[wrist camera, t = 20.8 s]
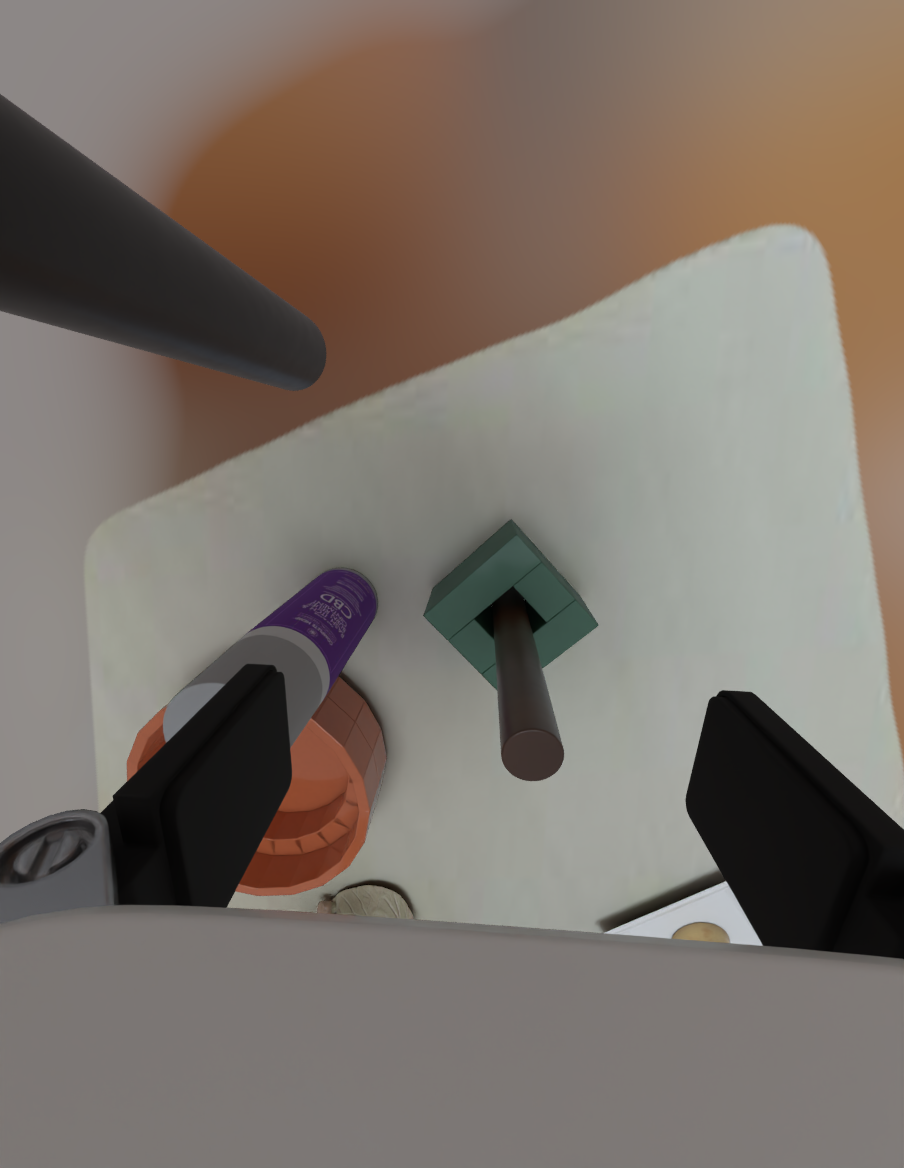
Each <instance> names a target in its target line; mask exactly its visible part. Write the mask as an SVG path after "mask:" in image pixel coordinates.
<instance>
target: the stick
mask: <svg viewBox="0 0 904 1168" xmlns="http://www.w3.org/2000/svg"><path fill="white" fill-rule="evenodd" d="M492 610H493V626H494V643H495V659H496V676H497V692H498V709H499V725H500V742H501V757H502V761H503V764H504V766H505V767H506V769H507V770H508V771H509V772H510V773H511V774H512V775H514V776H515V777H517V778H519V779H522V780H526V781H539V780H543V779H546V778H548V777H550V776H552V775H553V774H555V773H556V772H557V771H558V769H559V768H560V767H561V765H562V762H563V759H564V749H563V745H562V742H561V738H560V734H559V730H558V727H557V723H556V719H555V715H554V711H553V708H552V704H551V700H550V696H549V693H548V689H547V685H546V681H545V678H544V674H543V670H542V666H541V663H540V659H539V655H538V651H537V647H536V644H535V640H534V636H533V632H532V629H531V625H530V621H529V617H528V614H527V610H526V606H525V602H524V598H523V596H522V595H521V594H520V593H519V592H518V591H517V590H516V589H515V588H514V587H513V586H512V587H511V588H510V589H509V590H507V591H506V592H505V593H504V594H503V595H501V596H500V597H499V598H498V599H497V600H495V601H494V602H493V603H492Z"/></svg>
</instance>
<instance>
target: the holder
mask: <svg viewBox="0 0 904 1168" xmlns="http://www.w3.org/2000/svg"><path fill="white" fill-rule="evenodd" d="M512 586H513V587H514V588H515V589H516V590H517V591H518V592H519V593H520V594H521V595H522V596H523V597H524V599H525V600H526V601H527V603H525V606H526V610H527V614H528V617H529V621H530V625H531V629H532V632H533V636H534V640H535V644H536V647H537V651H538V655H539V659H540V663H541V666H542V668H544V667H545V666H546V665H548V664H549V663H550V662H552V661H553V660H554V659H555V658H557V657H558V656H559V655H561V654H562V653H563V652H565V651H566V650H567V649H569V648H570V647H571V646H572V645H574V644H575V643H576V642H578V641H579V640H580V639H582V638H583V637H584V636H586V635H587V634H588V633H589V632H591V631H592V630H593V629H595V628H596V627H597V626H598V623H597V622H596V620H595V619H594V617H593V615H592V614H591V612H590V611H589V609H588V608H587V606H586V604H585V603H584V601H583V600H582V598H581V597H580V595H579V594H578V593H577V592H576V591H575V590H574V589H573V588H572V586H571V585H570V584H569V583H568V582H567V581H566V580H565V579H564V578H563V576H562V575H561V574H560V573H559V572H558V571H557V570H556V569H555V567H554V566H553V565H552V564H551V563H550V562H549V561H548V560H547V558H546V557H545V556H544V555H543V554H542V553H541V552H540V551H539V550H538V548H537V547H536V546H535V545H534V544H533V543H532V542H531V541H530V539H529V538H528V537H527V536H526V535H525V534H524V533H523V532H522V531H521V529H520V528H519V527H518V526H517V525H516V524H515V523H514V522H513V521H512V520H510V521H508V522H507V523H506V524H505V525H504V526H503V527H502V528H500V529H499V530H498V531H497V532H496V533H495V534H494V535H493V536H491V537H490V538H489V539H488V540H487V541H486V542H485V543H484V544H482V545H481V546H480V547H479V548H478V549H477V550H476V551H475V552H473V553H472V554H471V555H470V556H469V557H468V558H467V559H465V560H464V561H463V562H462V563H461V564H460V565H459V566H458V567H456V568H455V569H454V570H453V571H452V572H451V573H450V574H449V575H447V576H446V577H445V578H444V579H443V580H442V581H441V582H440V583H438V584H437V585H436V586H435V587H434V588H433V589H432V592H431V595H430V598H429V601H428V604H427V607H426V610H425V612H424V615H423V616H424V617H425V618H426V619H427V620H428V621H429V622H430V623H431V624H432V625H433V626H434V627H435V628H436V629H437V630H438V631H439V632H440V633H441V634H442V635H443V636H444V637H445V638H446V639H447V640H448V641H449V642H450V643H451V644H452V645H453V646H454V647H455V648H456V649H457V650H458V651H459V652H460V653H461V654H462V655H463V656H464V657H465V658H466V659H467V660H468V661H469V662H470V663H471V664H472V665H473V666H474V667H475V668H476V669H477V671H478V672H479V673H481V674H482V676H483V677H484V678H485V679H486V680H487V681H488V682H489V683H490V684H491V685H492V686H493V687H494V688H495V689H496V690H497V676H496V659H495V643H494V626H493V610H492V608H491V607H490V606H489V605H491V604H492V603H493V602H494V601H495V600H497V599H498V598H499V597H500V596H501V595H503V594H504V593H505V592H506V591H507V590H509V589H510V588H511V587H512Z"/></svg>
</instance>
